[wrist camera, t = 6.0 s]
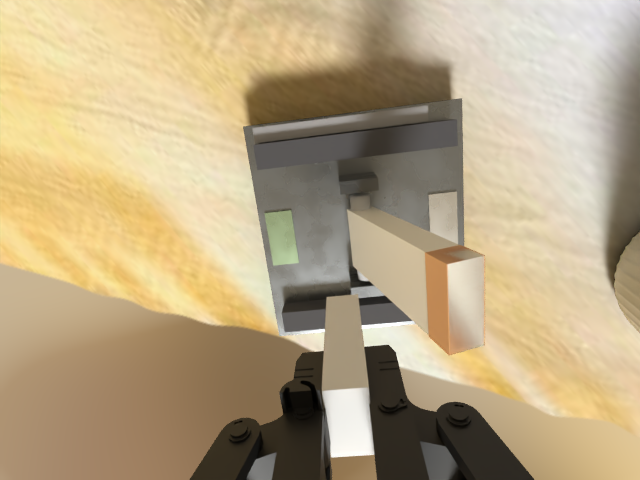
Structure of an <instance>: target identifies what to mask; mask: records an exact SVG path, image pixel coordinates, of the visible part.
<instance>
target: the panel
mask: <svg viewBox="0 0 640 480" xmlns="http://www.w3.org/2000/svg"><path fill="white" fill-rule="evenodd" d="M427 105H428V121H427V122H433V121H441V120H449V119H457V137H458V146H453V147H445V148H437V149H428V150H420V151H412V152H403V153H395V154H387V155H379V156H370V157H362V158H354V159H346V160H337V161H329V162H321V163H313V164H304V165H296V166H288V167H280V168H271V169H263V170H257V165H256V159H255V153H254V147H253V145H255V144H258V143H255V141H254V135H253V129H252V128H256V127H264V126H272V125H280V124H287V123H295V122H303V121H311V120H318V119H326V118H334V117H342V116H349V115H357V114H365V113H373V112H380V111H388V110H396V109H404V108H411V107H419V106H427ZM419 123H425V122H419ZM411 124H417V123H411ZM403 125H409V124H403ZM395 126H401V125H395ZM387 127H393V126H387ZM379 128H385V127H379ZM243 129H244V134H245V140H246V146H247V152H248V157H249V163H250V169H251V175H252V180H253V186H254V192H255V198H256V203H257V209H258V215H259V221H260V226H261V232H262V238H263V244H264V249H265V255H266V261H267V267H268V272H269V278H270V284H271V290H272V295H273V301H274V307H275V313H276V318H277V324H278V330H279V336H286V335H297V334H308V333H320V332H325V329H318V330H307V331H296V332H285V331H284V325H283V319H282V310H283V306H284V303H292V302H302V301H312V300H323V299H327V297H333V296H343V295H354V294H358V298H365V297H376V296H385V295H384V294H383V293H382V292H381V291H380V290H379V289H378V288H376V287H375V286H374V285H373V284H372V283H371V282H370V281H361V280H359V279H358V274H357V269H356V268H355V267H354V266H353V261H352V251H351V242H350V232H349V223H348V213H347V209H351V206H350V195H353V194H358V193H368V194H369V196H370V206H372V207H375V208H377V209H379V210H381V211H384V212H386V213H388V214H391V215H393V216H395V217H397V218H400V219H402V220H404V221H406V222H409V223H411V224H413V225H415V226H418V227H420V228H422V229H424V230H427V231H429V232H431V233H434V234H436V235H438V236H440V237H443V238H445V239H447V240H449V241H452V242H454V243H456V244H458V245H462V246H464V201H463V133H462V98H461V99H453V100H446V101H438V102H430V103H422V104H415V105H407V106H399V107H392V108H384V109H376V110H368V111H361V112H353V113H345V114H338V115H330V116H322V117H314V118H307V119H299V120H291V121H284V122H276V123H268V124H260V125H253V126H245V127H243ZM371 129H377V128H371ZM363 130H369V129H363ZM356 131H361V130H356ZM348 132H354V131H348ZM340 133H346V132H340ZM332 134H338V133H332ZM324 135H330V134H324ZM316 136H322V135H316ZM308 137H314V136H308ZM300 138H306V137H300ZM292 139H298V138H292ZM284 140H290V139H284ZM276 141H282V140H276ZM268 142H274V141H268ZM260 143H266V142H260ZM409 324H416V323H415V322H413V321H407V322H396V323H384V324H373V325H362V329H364V328H375V327H387V326H398V325H409Z"/></svg>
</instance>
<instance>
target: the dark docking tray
mask: <svg viewBox="0 0 640 480" xmlns="http://www.w3.org/2000/svg"><path fill="white" fill-rule="evenodd" d="M427 121H428V105H427V106H419V107H411V108H404V109H396V110H388V111H380V112H373V113H365V114H357V115H349V116H342V117H334V118H326V119H318V120H311V121H303V122H295V123H287V124H280V125H272V126H264V127H256V128H252V129H253V135H254V141H255V143H258V144H255V145H253V147H254V153H255V159H256V165H257V170H263V169H271V168H280V167H288V166H296V165H304V164H313V163H321V162H329V161H337V160H346V159H354V158H362V157H370V156H379V155H387V154H395V153H403V152H412V151H420V150H428V149H437V148H445V147H453V146H458V137H457V119H449V120H441V121H433V122H427ZM419 122H425V123H419ZM411 123H417V124H411ZM403 124H409V125H403ZM395 125H401V126H395ZM387 126H393V127H387ZM379 127H385V128H379ZM371 128H377V129H371ZM363 129H369V130H363ZM356 130H361V131H356ZM348 131H354V132H348ZM340 132H346V133H340ZM332 133H338V134H332ZM324 134H330V135H324ZM316 135H322V136H316ZM308 136H314V137H308ZM300 137H306V138H300ZM292 138H298V139H292ZM284 139H290V140H284ZM276 140H282V141H276ZM268 141H274V142H268ZM260 142H266V143H260ZM358 299H359V307H360V316H361V324H362V325H373V324H384V323H396V322H407V321H412V320H411V319H410V318H409V317H408V316H407V315H406V314H405V313H404V312H403V311H401V310H400V309H399V308H398V307H397V306H396V305H395V304H394V303H393V302H392V301H391V300H390V299H388V298H387V297H386V296H376V297H365V298H358ZM326 300H327V299H323V300H312V301H302V302H292V303H284V306H283V310H282V319H283V325H284V331H285V332H296V331H307V330H318V329H325V319H326Z"/></svg>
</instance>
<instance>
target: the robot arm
mask: <svg viewBox="0 0 640 480" xmlns="http://www.w3.org/2000/svg"><path fill="white" fill-rule="evenodd" d="M280 399H281V404H282V409H283V415H282V416H281V417H280V418H278V419H277V420H275V421H272V422H270V423H267V424H264V425H261V426H260V425H259V423H257V421H256V420H254V419H251V418H240V419H237V420H234V421H232V422H231V423H229V424H227V425H226V426H225V427H224V428H223V430H222V431H221V432H220V434H219V435H218V437H217V438H216V440H215V441H214V443H213V444H212V446H211V447H210V449H209V451H208V452H207V454H206V455H205V457H204V458H203V460H202V461H201V463H200V464H199V466H198V468H197V469H196V471H195V472H194V474H193V476H192V477H191V478H190V480H332V469H331V462H330V451H331V457H344V456H361V455H375V462H376V473H377V480H534V478H533V477H532V476H531V475H530V474H529V472H528V471H526V469H525V468H524V467H523V465H522V464H521V463H520V462H519V460H518V459H517V458H516V457H515V456H514V454H513V453H512V452H511V451H510V450H509V448H508V447H507V446H506V445H505V443H504V442H503V441H502V440H501V439H500V437H499V436H498V435H497V434H496V433H495V432H494V430H493V429H492V428H491V427H490V425H489V424H488V423H487V422H486V421H485V419H484V418H483V417H482V416H481V415H480V413H479V412H478V411H477V410H475V409H474V408H473V407H471V406H469V405H467V404H465V403H460V402H449V403H446V404H444V405H441V406H440V407H439V409H438V410H437V412H434V411H428V410H424V409H421V408H419V407H417V406H415V405H413V404H412V403H411V402H410V401H409V400H408V398H407V396H406V393H405V389H404V385H403V381H402V377H401V372H400V369H399V364H398V360H397V356H396V352H395V351H394V350H393V349H392V348H391V347H390V346H389V345H381V346H369V347H364V341H363V333H362V324H361V316H360V307H359V299H358V294H354V295H343V296H333V297H327V300H326V319H325V337H324V351H320V352H308V353H302V354H301V356H300V357H299V359H298V360H297V361H296V367H295V373H294V379H293V380H292V381H290V382H288V383H286V384H285V385H284V386H283V387H282V388H281V391H280Z"/></svg>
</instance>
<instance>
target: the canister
mask: <svg viewBox="0 0 640 480" xmlns="http://www.w3.org/2000/svg"><path fill="white" fill-rule="evenodd" d="M616 267H617V269H616V273H615V274H614V277H615V282H614V287H615V290H616V291H615V296H616V298H617V300H618V304H619V307H620V309H621V310H622V311H623V313H624V315H625V317H626V318H627V320H628V321H629V322H630V323H631V324H632V325H633V326H634V327H635V329H636V330H637V331H638V332H639V333H640V231H639V233H638V234H637V235H636V236H635V237H633V238H632V240H631V242H630V243H629V244H628V245H627V246H626V247H625V250H624V252H623V253H622V255H620V260H619V263H618V264H617V265H616Z"/></svg>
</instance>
